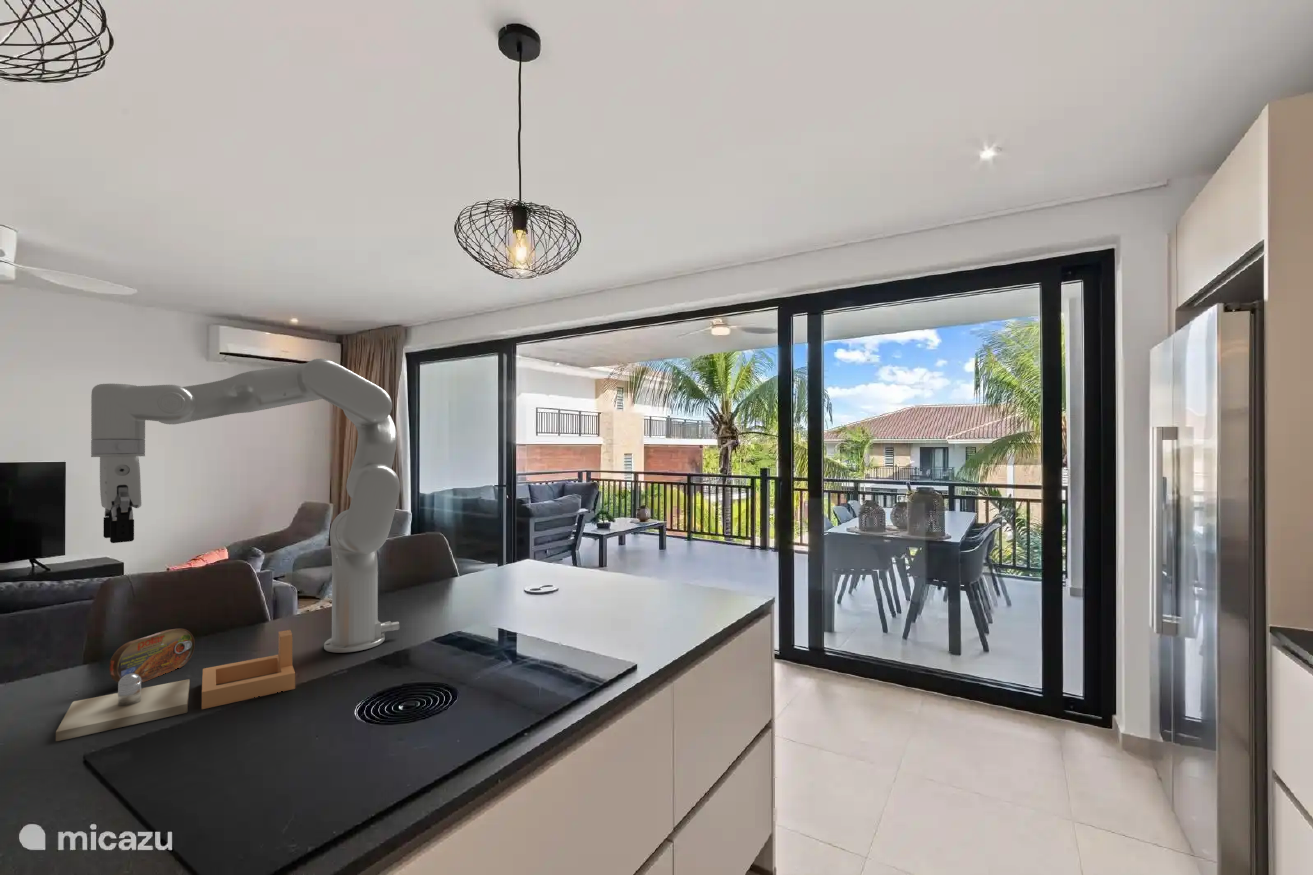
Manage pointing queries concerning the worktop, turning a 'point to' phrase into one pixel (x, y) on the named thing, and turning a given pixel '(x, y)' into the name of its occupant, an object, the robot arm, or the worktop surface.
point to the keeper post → (129, 690)
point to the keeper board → (123, 710)
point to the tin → (153, 655)
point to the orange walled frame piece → (250, 676)
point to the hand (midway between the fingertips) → (118, 539)
